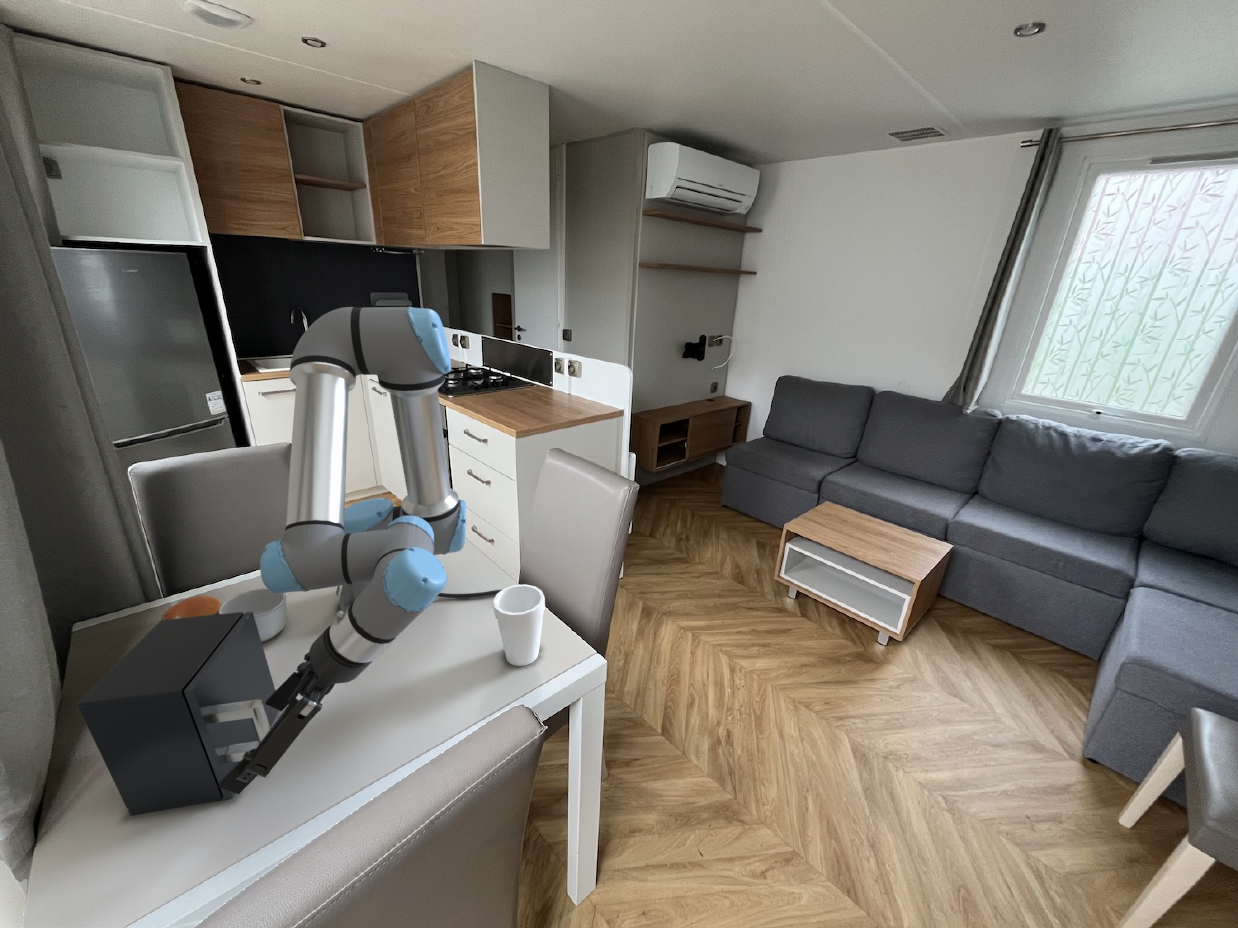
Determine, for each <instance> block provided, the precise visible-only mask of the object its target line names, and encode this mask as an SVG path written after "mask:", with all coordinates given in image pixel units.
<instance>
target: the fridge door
mask: <svg viewBox="0 0 1238 928" xmlns="http://www.w3.org/2000/svg"><path fill="white" fill-rule="evenodd" d="M275 691H276V688H275V684H274V679H273V677H272V674H271V670H270V667H269V664H268V659H267V656H266V653H265V650H264V646H263V642H261V639H260V636H259V632H258V629H257V625H256V622H255V618H254V615H253V612H245V614H244V615H243V616H242V617H241V619H240V620H239V621H238V623H237V624H236V625H235V626H234V628H233V629H232V630H231V632H230V633H229V634H228V635H227V637H226V638H225V639H224V640H223V642H222V643H221V644H220V646H219V647H218V648H217V649H216V651H215V652H214V653H213V655H212V656H211V657H210V658H209V660H208V661H207V662H206V664H205V665H204V666H203V667H202V669H201V670H200V671H199V672H198V674H197V675H196V676H195V678H194V679H193V680H192V681H191V683H190V684H189V685H188V687H187V688H186V689H185V690H184V693H185V696H186V698H187V701H188V704H189V706H190V709H191V712H192V714H193V717H194V720H195V722H196V725H197V728H198V730H199V733H200V736H201V738H202V741H203V744H204V746H205V749H206V752H207V754H208V757H209V760H210V762H211V765H212V768H213V770H214V773H215V776H216V778H217V781H218V784H220V782H221V780H222V779H223V778H224V777H225V776H226V775H227V774H228V773H229V772H230V771H231V770H232V769H233V768H234V767H235V766H236V765H237V764H238V763H239V762H240V761H241V760H242V759H243V756H244V754H245V752H246V751H248V752H250V751H251V750H252V749H256V748H257V746H258V745H259V744H260V742H261V741H262V740H263V738H264V737H265V736H266V734H267V733H268V732H269V730H270V729H271V726H272V725H273V724H274V723H273V722H274V720H275V719H276V717H277V715H278V713H279V711H280V710H278V709H275V708H273V707H271V706H269V705H266V704H265V703H266V701H267V699H268V698H269V697H270V696H271V695H272V694H273V693H274V692H275ZM220 789H221V791H222V794H223V797H224V799H223V800H231V799H234V796H235V795H236V793H233V792H231V791H228V790H225V789H223V788H220Z"/></svg>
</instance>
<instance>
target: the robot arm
mask: <svg viewBox="0 0 1238 928" xmlns="http://www.w3.org/2000/svg"><path fill="white" fill-rule="evenodd" d="M289 365H290V367H289V380H290V382H291V383H292V384H293V385H294V386H295V396H294V406H293V407H294V408H293V420H292V431H291V432H292V435H291V447H290V459H289V471H288V483H287V496H286V508H285V519H284V520H285V521H284V534H283V538H279V539H278V540H273V541H270V542H268V543H267V544H266V545H265V547H264V548H263V550H262V551H263V552H262V553H261V556H260V559H259V560H260V562H259V572H260V577H261V580H262V583H263V585H264V587H265V588H267V589H269V590H270V591H272V592H274V593H284V592H285V593H295V592H296V593H297V592H303V593H307V592H309V591H315V590H321V589H326V588H327V589H328V588H335V587H336V591H335V594H336V598H338V596H339V595H340V596H339V607H340V609H338V610H337V612H336V615H335V616H336V617H337V618H336V619H335V620H334V621H333V622H332V623H331V625H329V626H327V628H325V630H323V632H322V633H321V634H320V635H319V636H318V637H317V638H316V639H315V640H314V641H313V642H312V643H311V646H310V648H309V651H308V652H307V653H306V654H304V657H303V660H304V662H301V663H300V664H298V666H297V668H296V671H293V672H292V674H290V675H289V677H287V678H286V680H285V681H283V682H282V684H280V686H279V687H278V688H277V689H275V692H274V693H273V694H272V695H271V696H270V697H269V698H268V699H267V701H266V703H265V704H266V705H269V706H271V707H273V708H275V709H278V710H279V711H280V712H282V713H281V714H280V716H279V717H278V718H277V719H276V721H275V722H274V723H273V724H272V725H271V726H272V727H270V730H269V732H268V733H267V734H266V736H265V737H264V738H263V740H262V741H261V742H260V744H259V745H258V746H257V748H256V749H252V750H251V751H250V752H248V751H246V752H245V754H244V756H243V759H242V760H241V761H240V762H239V763H238V764H237V765H236V766H235V767H234V768H233V769H232V770H231V771H230V772H229V773H228V774H227V775H226V776H225V777H224V778H223V779H222V780H221V782H220V784H219V785H218V787H220V788H223V789H225V790H228V791H231V792H233V793H235V795H239V794H241V793H242V792H243V791H244V790H245V789H246V788H247V786H249V785H250V784H251V783H252V782H253V781H254V780H255V779H256V778H257V777H258V776H259V777H262V778H266V777H268V775H269V774H270V773H271V771H272V769H273V768H274V767H275V766H276V764H277V763H278V762H279V761H280V760H281V758H282V757H283V756H284V754H285V753H287V750H288V749H289V748H290V747H291V746H292V745H293V743H294V742H295V740H296V739H297V738H298V737H299V735H300V734H301V733H302V731H303V730H304V729H305V728H306V726H307V725H308V724H309V722H310V721H311V720H312V719H314V717H315V716H316V715H317V714H318V713H319V712H321V710H322V708H323V703H322V700H323V699H324V697H326V696H327V695H328V694H330V692H332V690H333V689H334V687H335V686H336V685H338V684H346V683H350V682H352V681H354V680H356V679H357V678H358V677H359V676H360V675H361V674H362V673H363V672H364V671H365V670H366V669H367V668H368V667H369V666H370V665H371V664H372V663H373V661H374V660H376V659H378V657H380V655H381V654H382V653H384V651H386V649H387V648H388V647H389V646H390V645H392V644H393V642H394V641H395V640H396V639H397V637H398V636H399V635H400V634H401V633H402V632H403V631H404V630H405V629H406V628H407V627H408V626H409V625H410V624H411V623H413V622H414V620H416V619H417V617H418V616H419V615H421V614H422V613H423V611H425V610H426V609H428V607H429V606H431V605H432V604H433V603H434V601H436V598H437V597H440V598H446V599H469V598H470V599H471V598H481V597H488V596H494V595H495V596H496V594H497V593H499V592H500V591H502V590H503V589H496V590H495V589H494V590H490V591H489V590H487V591H482V592H471V593H446V592H442V591H443V590H444V589H445V587H446V585H447V582H448V574H447V571H446V570H445V569H444V564H443V563H442V562H441V560H440V559H439V558H438V556H439V555H442V556H445V555H447V554H451V553H452V554H453V553H458V552H460V551H461V550H463V548H465V545H466V544H465V543H466V530H467V529H466V527H467V523H466V522H467V502H466V500H464V499H459V494H458V493H457V491H456V490H454V489H453V488H451V486H450V485H451V484H450V478H449V469H448V461H447V454H446V446H445V438H444V437H445V436H444V430H443V422H442V414H441V406H440V397H439V388H440V387H442V385H443V384H444V383H445V382H446V379H445V375H447V374H448V373H451V371H452V361H451V356H450V351H449V344H448V340H447V336H446V333H445V329H444V326H443V323H442V319H441V318H440V315H439V314H438V313H437V311H435V310H433V309H431V308H423V307H421V308H420V307H412V306H383V307H381V306H380V307H379V306H375V307H355V306H345V307H339V308H335V309H333V310H331V311H329V312H326V313H325V314H322V315H321V316H320V317H319V318H317V319H316V320H315V321H314V322H312V324H311V325H309V327H308V328H307V329H306V330H305V331H304V332H303V334H302V335H301V337H300V338H299V340H298V342H297V343H296V346H295V348H294V349H293V352H292V356H291V360H290V364H289ZM361 375H363V376H377V381H378V385H379V386H380V388H381V389H383V390H384V391H386V392H387V393H388V394H389V396H390V403H391V408H392V414H393V419H394V426H395V432H396V436H397V442H398V448H399V453H400V459H401V460H400V461H401V464H402V470H403V476H404V483H405V488H406V491H407V492H406V493H407V494H406V495H405V496H404V497H403V499H402V501H401V505H397V506H394V503H393V502H392V500H391V499H389V498H383V497H374V498H368V499H364V500H361V501H358V502H355V503H353V504H350V505H349V506H347V507H346V506H345V505H346V482H347V481H346V479H347V455H348V454H347V453H348V426H349V425H348V424H349V423H348V422H349V421H348V420H349V399H350V398H349V397H350V396H349V394H350V392H352V391H353V390H354V388H355V387H356V384H357V377H358V376H361ZM340 589H341V590H340ZM339 593H340V594H339ZM298 696H301V698H300V699H299V698H298Z"/></svg>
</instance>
